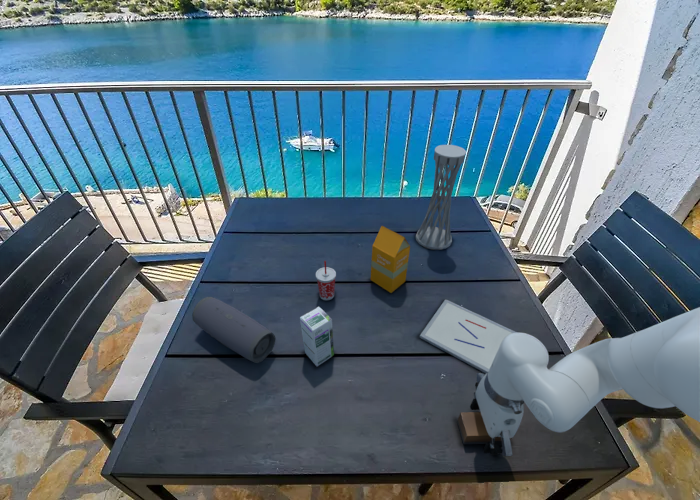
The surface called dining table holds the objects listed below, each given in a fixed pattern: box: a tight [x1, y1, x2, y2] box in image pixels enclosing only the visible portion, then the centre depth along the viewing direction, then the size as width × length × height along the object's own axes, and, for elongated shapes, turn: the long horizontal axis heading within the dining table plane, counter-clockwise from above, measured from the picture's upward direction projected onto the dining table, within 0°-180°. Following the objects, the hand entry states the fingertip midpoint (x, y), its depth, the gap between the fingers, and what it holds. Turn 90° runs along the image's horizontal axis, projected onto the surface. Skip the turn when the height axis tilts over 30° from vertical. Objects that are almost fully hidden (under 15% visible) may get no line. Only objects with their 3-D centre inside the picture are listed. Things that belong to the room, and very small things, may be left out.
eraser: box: [456, 411, 513, 445], centre depth 75 cm, size 5×10×4 cm, turn 92°
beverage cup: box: [315, 260, 337, 301], centre depth 105 cm, size 6×6×14 cm
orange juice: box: [370, 225, 411, 294], centre depth 108 cm, size 8×9×20 cm
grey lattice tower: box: [415, 144, 467, 250], centre depth 122 cm, size 14×13×35 cm
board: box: [419, 299, 518, 374], centre depth 96 cm, size 22×17×1 cm
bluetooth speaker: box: [191, 296, 276, 364], centre depth 93 cm, size 23×9×10 cm, turn 57°
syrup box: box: [299, 306, 335, 367], centre depth 88 cm, size 6×6×14 cm
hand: (483, 428), depth 76 cm, fingers open, 8 cm apart
